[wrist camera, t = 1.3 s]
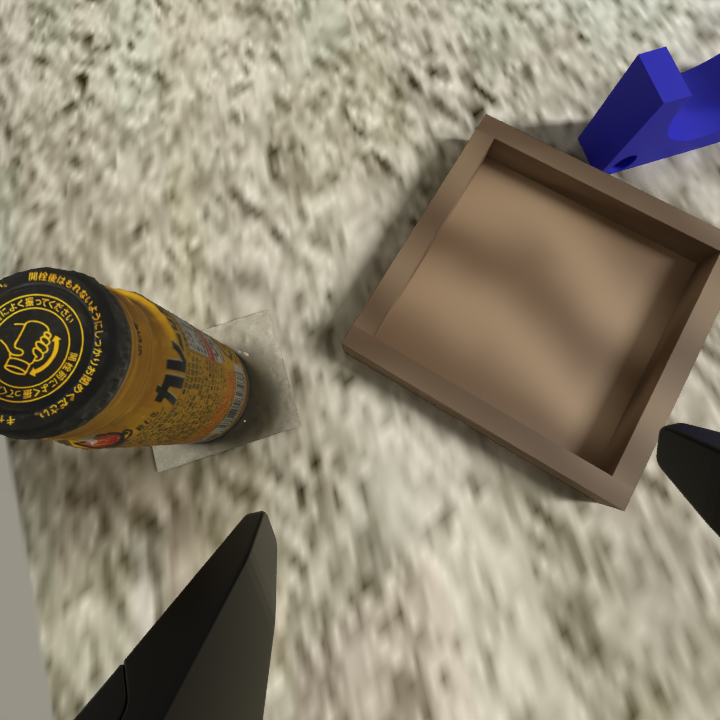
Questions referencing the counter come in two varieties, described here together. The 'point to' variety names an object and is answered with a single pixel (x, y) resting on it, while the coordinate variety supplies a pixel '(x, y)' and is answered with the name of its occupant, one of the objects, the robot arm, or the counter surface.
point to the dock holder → (547, 309)
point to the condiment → (133, 372)
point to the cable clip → (655, 113)
